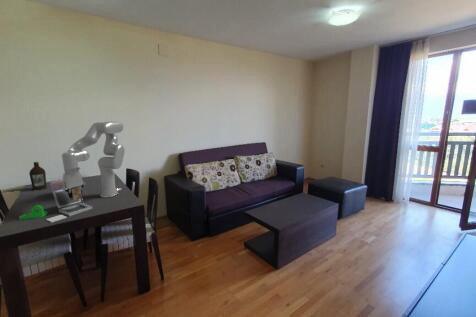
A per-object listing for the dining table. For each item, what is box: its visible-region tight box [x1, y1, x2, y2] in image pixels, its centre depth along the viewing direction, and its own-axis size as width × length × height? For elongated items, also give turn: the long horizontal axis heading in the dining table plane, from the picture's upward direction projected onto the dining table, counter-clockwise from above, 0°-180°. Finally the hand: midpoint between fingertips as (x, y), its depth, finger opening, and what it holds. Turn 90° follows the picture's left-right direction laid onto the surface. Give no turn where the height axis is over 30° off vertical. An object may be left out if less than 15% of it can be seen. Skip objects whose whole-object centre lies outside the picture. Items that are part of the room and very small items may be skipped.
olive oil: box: [29, 161, 48, 191], centre depth 198 cm, size 11×11×25 cm
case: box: [52, 188, 93, 217], centre depth 154 cm, size 15×20×14 cm
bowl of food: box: [49, 179, 66, 192], centre depth 184 cm, size 20×20×12 cm
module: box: [70, 186, 83, 201], centre depth 152 cm, size 5×5×9 cm
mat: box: [45, 214, 68, 224], centre depth 140 cm, size 8×7×1 cm
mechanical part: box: [18, 204, 48, 221], centre depth 143 cm, size 12×6×8 cm, turn 107°
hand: (75, 196), depth 153 cm, fingers closed on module, 5 cm apart
